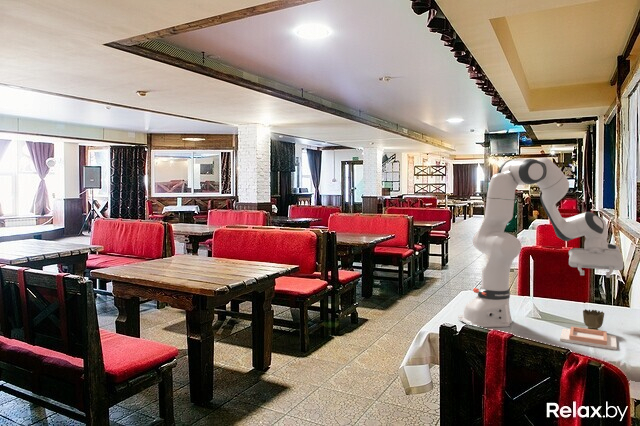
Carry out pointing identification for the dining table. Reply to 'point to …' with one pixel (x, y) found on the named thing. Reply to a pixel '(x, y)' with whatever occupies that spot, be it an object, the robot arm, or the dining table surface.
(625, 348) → the dining table surface
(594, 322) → the cup
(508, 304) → the robot arm
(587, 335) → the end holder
